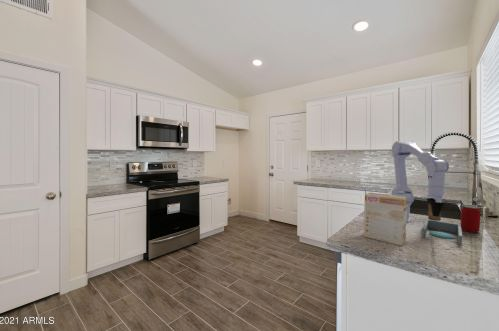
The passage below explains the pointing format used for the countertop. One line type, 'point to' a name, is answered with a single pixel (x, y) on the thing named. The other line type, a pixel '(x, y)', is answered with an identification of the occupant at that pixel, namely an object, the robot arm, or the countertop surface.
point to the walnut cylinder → (430, 215)
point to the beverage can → (470, 218)
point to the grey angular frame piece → (443, 228)
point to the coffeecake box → (385, 218)
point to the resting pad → (442, 235)
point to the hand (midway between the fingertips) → (434, 215)
